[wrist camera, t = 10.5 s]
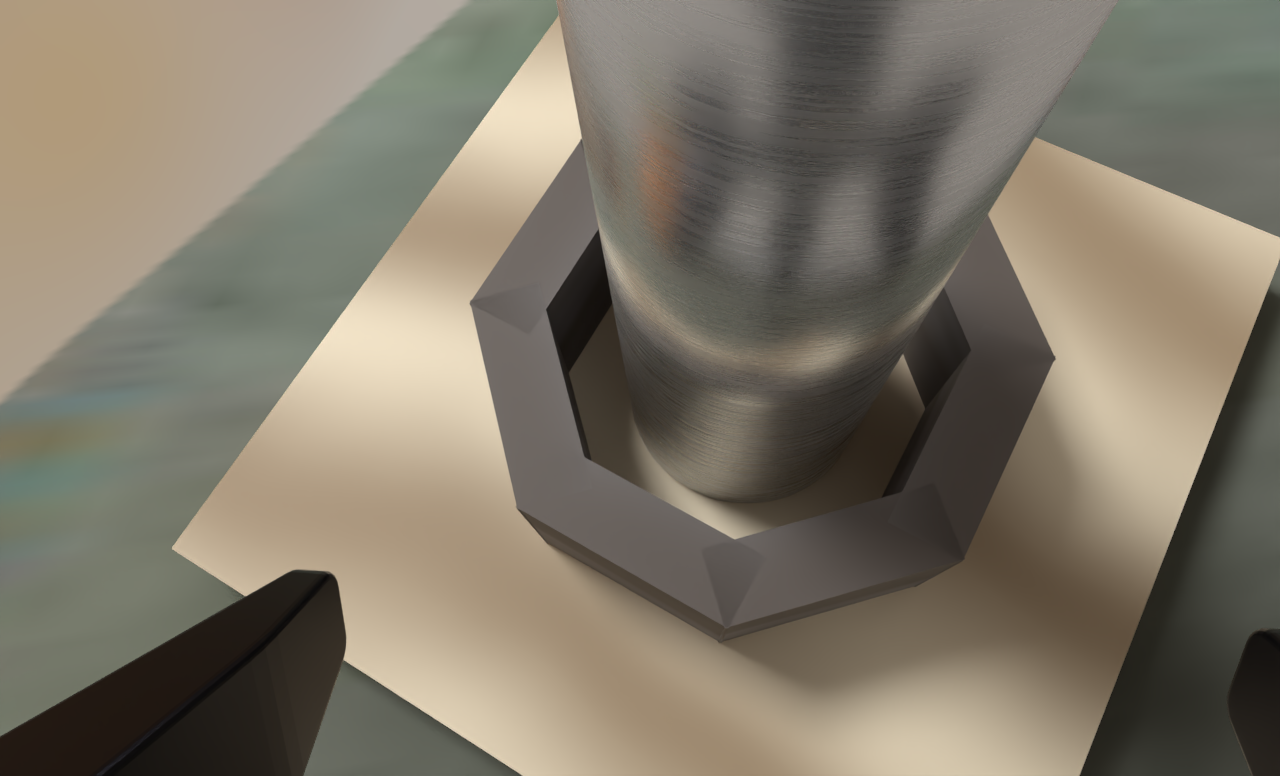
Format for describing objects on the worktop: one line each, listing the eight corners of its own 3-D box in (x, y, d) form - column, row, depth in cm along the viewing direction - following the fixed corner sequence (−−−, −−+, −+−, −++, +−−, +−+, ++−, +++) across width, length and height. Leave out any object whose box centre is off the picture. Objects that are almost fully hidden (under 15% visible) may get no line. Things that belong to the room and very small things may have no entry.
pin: (880, 486, 17) (1404, -113, 5) (645, 518, 17) (534, 5, 5) (833, 275, 18) (1132, -606, 6) (618, 305, 18) (478, -512, 6)
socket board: (942, 1030, 15) (1040, 1154, 11) (211, 561, 18) (68, 516, 14) (1243, 274, 19) (1397, 153, 15) (605, 5, 23) (586, -156, 19)
